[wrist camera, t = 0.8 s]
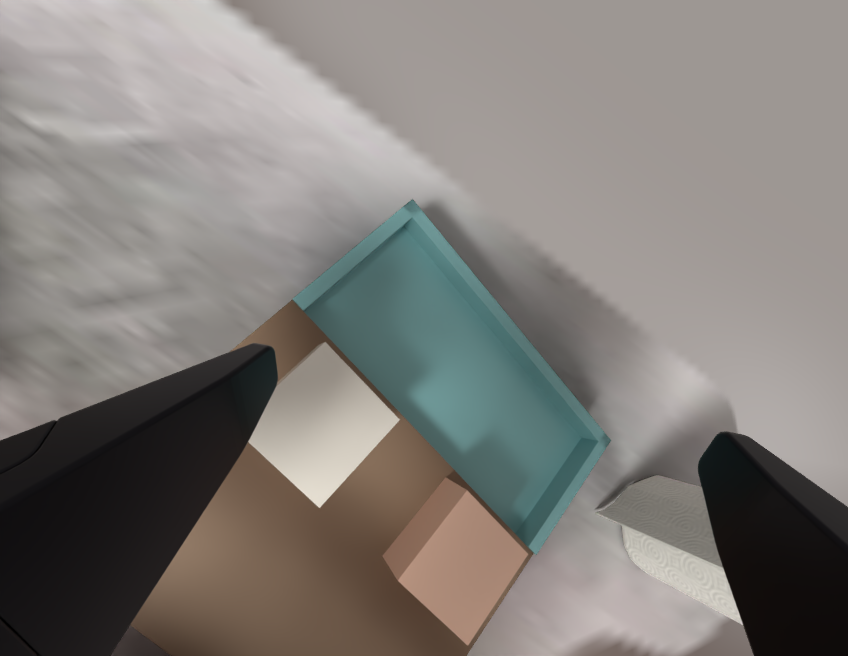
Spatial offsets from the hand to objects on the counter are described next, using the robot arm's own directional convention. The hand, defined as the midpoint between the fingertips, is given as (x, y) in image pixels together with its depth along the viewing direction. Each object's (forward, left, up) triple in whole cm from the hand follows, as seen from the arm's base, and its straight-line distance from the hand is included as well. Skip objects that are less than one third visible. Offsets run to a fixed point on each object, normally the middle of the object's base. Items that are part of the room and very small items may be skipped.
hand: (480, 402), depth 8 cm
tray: (+4, -3, -12) cm, 13 cm away
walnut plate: (-5, -3, -12) cm, 14 cm away
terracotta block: (-2, -7, -9) cm, 12 cm away
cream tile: (-2, +1, -9) cm, 9 cm away
